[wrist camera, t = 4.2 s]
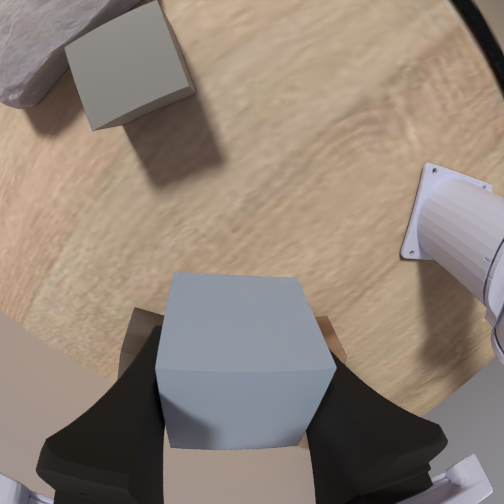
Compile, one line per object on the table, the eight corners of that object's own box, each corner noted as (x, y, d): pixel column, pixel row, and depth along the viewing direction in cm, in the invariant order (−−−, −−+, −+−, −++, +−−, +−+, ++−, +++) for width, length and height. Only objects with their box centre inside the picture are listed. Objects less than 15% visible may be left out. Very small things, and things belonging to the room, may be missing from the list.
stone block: (-2, 53, 12) (38, 121, 15) (-39, 42, 8) (-8, 116, 10) (103, -51, 10) (168, -4, 13) (79, -80, 6) (147, -43, 8)
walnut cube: (326, 315, 25) (346, 355, 20) (321, 355, 27) (336, 394, 22) (268, 322, 24) (279, 367, 20) (269, 362, 26) (278, 405, 22)
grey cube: (171, 26, 14) (157, -1, 9) (196, 93, 16) (188, 85, 11) (99, 59, 14) (64, 47, 9) (122, 125, 16) (92, 131, 12)
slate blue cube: (297, 277, 12) (336, 367, 8) (277, 361, 14) (297, 445, 10) (173, 272, 12) (155, 367, 7) (177, 359, 14) (170, 447, 9)
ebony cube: (194, 323, 23) (191, 369, 19) (180, 361, 25) (177, 406, 21) (134, 306, 22) (120, 350, 18) (127, 348, 24) (116, 391, 19)
